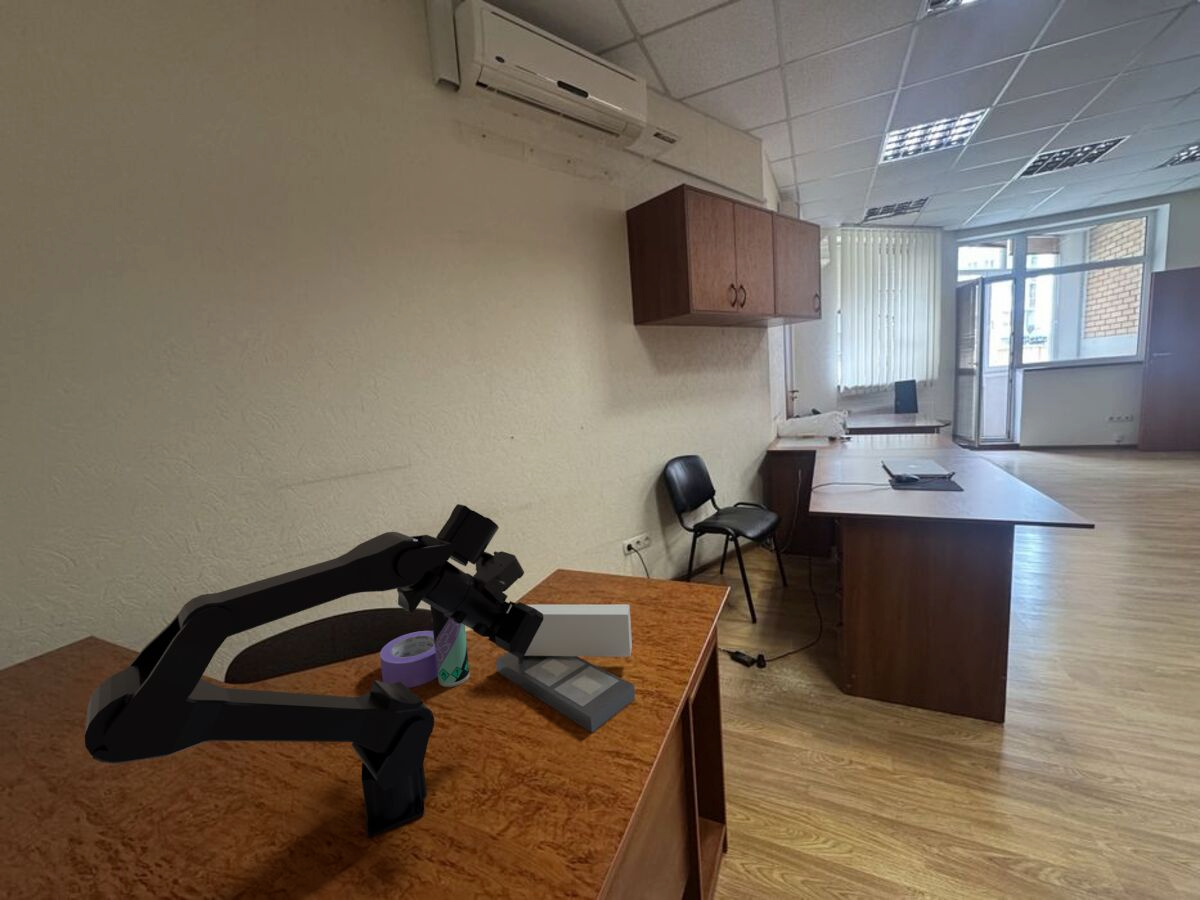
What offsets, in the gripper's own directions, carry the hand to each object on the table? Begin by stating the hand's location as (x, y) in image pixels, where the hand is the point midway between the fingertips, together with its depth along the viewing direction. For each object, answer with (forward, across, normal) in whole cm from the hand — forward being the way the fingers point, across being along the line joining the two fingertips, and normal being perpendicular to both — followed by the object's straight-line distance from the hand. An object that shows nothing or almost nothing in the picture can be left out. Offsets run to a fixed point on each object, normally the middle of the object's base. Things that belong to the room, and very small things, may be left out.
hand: (525, 636), depth 73 cm
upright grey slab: (+17, +5, -3) cm, 18 cm away
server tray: (+15, +2, +4) cm, 16 cm away
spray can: (+8, +20, +12) cm, 24 cm away
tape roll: (+6, +28, +14) cm, 32 cm away
